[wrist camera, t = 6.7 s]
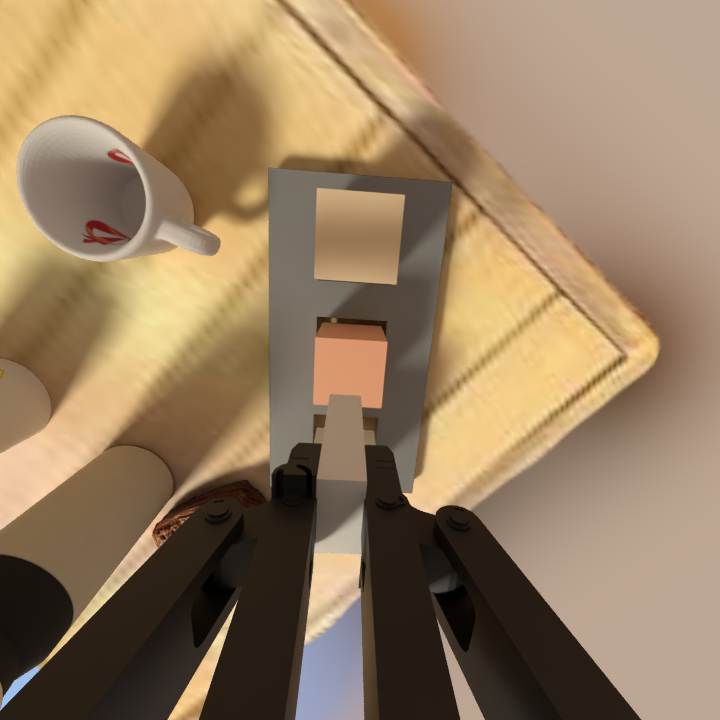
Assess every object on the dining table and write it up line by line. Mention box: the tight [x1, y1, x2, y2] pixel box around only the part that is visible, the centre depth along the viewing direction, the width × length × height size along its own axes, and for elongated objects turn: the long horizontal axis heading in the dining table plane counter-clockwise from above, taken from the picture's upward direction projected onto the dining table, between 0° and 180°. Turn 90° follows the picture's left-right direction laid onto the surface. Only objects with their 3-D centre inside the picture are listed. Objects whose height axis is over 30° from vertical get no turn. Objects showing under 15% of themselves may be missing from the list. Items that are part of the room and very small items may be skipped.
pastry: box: [152, 480, 267, 549], centre depth 34 cm, size 11×12×6 cm
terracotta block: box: [313, 322, 388, 408], centre depth 27 cm, size 5×5×6 cm
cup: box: [16, 115, 221, 262], centre depth 24 cm, size 11×8×8 cm
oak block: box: [314, 188, 405, 285], centre depth 23 cm, size 5×5×6 cm
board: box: [268, 168, 452, 493], centre depth 31 cm, size 28×14×2 cm, turn 176°
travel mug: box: [0, 445, 173, 708], centre depth 26 cm, size 8×8×18 cm
